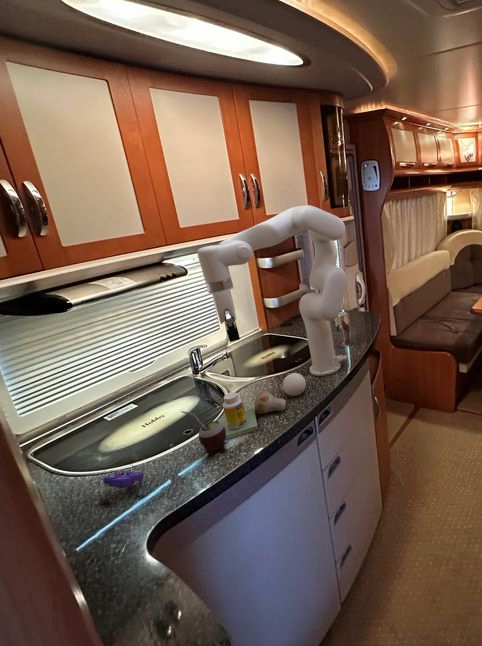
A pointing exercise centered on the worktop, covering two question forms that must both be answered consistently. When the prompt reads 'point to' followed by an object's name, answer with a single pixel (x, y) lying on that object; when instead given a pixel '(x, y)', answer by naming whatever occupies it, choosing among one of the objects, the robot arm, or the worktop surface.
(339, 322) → the beer glass
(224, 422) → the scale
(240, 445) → the worktop surface
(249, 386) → the worktop surface
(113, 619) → the worktop surface
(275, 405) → the beige lumpy tapered piece
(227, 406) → the supplement bottle
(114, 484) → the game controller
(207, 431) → the mate gourd
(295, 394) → the ball
